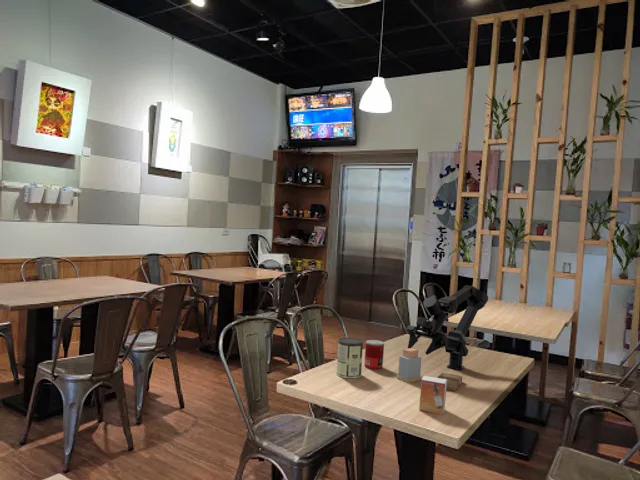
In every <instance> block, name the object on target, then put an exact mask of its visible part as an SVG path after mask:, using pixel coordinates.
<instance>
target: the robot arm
mask: <svg viewBox="0 0 640 480" xmlns="http://www.w3.org/2000/svg"><path fill="white" fill-rule="evenodd" d="M465 301H467V307H466V309H465V310H464V313H463V314H462V316H461V318H460V320H459V322H458V324H457V326H456V328H455V329H454V331H449V332H448V333H447V335H446V334H445V333H443V332H442V327H443V324H444V323H449V321H450V320H449V317H448V315H447V314H453V313H455V312H456V311H457V309H458V306H459V305H460V304H461V303H463V302H465ZM488 301H489V296H488V294H487V292H484V291H482V290H480V289H478V288H477V287H475V286H473V285H463V287H462V288H460V289H459V290H457V291H456V292H455V293H453V294H451V295H449V296H444V297H440V298H439V299H438V296H436V295H433V294H432V295H431V296H430V297H427V298H426V299H424V300H423V302H422V304H423V307H424V308H425V310H426V311H427V313H428V315H429V316H430V318H425V317H421V316H418V317H417V320H416V323H415V324H416V325H415V326H414V325H411V324H409V325H407V327H406V329H405V330H406V332H407V333H408V335H409V338H408V343H407V344H408V345H407V349H408V348H413V347H414V345H416V344H417V342H419V339H420V338H421V337H423V338H427V339H431V343H430V344H429V345H428V346H427V349H426V351H425V355H426V356H428V355H429V354H431V353H433V352H435V351H437V350H439V349H441V348H444V351H445V353H449V361H448V364H447V366H446V368H448V369H452V370H458V371H462V370H463V368H464V369H465V365H463V362H464V361H463V360H464V359H463V358H464V357H467V356H468V355H469V349H468V347H467V346H466V344H467V340H466V336H467V334H468V331H469V330H470V328H471V325H472V324H473V321H474V320H475V318H476V315H477V313H478V312H479V311H480V310H481V309H483V308H484V307H485V306H486V304H487V303H488ZM417 325H418V326H420V327H419V328H418V326H417ZM419 329H420V330H419Z"/></svg>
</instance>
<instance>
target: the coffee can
mask: <svg viewBox="0 0 640 480" xmlns="http://www.w3.org/2000/svg"><path fill="white" fill-rule="evenodd" d="M337 342H338V343H337V357H336V358H337V361H336V376H338V377H340V378H344V379H358V378H361V377H362V365H363V348H364V340H363V339H360V338H355V337H341V338H339V339H337Z"/></svg>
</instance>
